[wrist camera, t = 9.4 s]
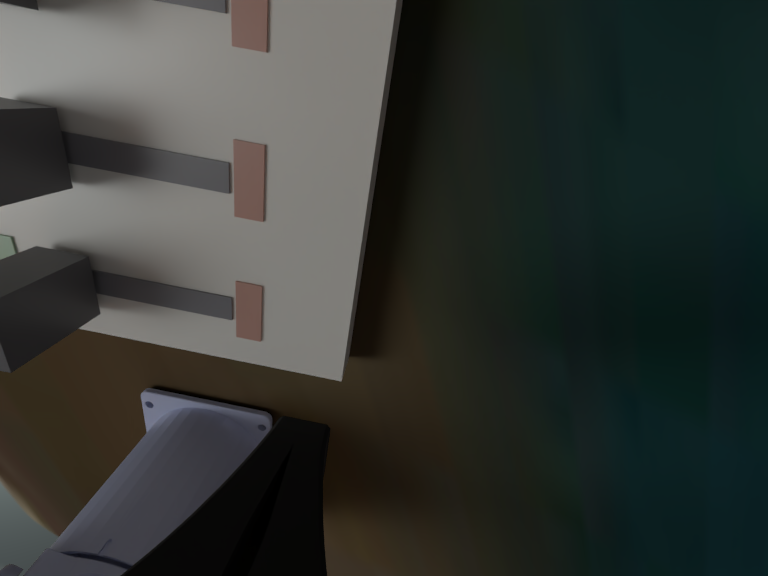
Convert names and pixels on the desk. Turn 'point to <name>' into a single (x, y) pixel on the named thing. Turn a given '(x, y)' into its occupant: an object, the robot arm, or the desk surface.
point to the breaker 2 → (42, 302)
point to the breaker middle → (30, 152)
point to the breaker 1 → (22, 3)
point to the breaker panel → (210, 165)
